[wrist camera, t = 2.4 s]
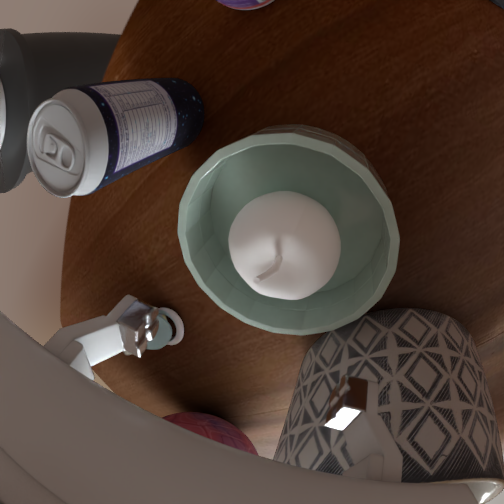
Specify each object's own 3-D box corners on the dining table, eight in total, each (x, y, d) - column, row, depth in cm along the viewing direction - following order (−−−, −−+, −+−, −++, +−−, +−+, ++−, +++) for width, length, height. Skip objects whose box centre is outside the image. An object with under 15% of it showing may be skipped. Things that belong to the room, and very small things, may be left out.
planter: (502, 296, 20) (557, 455, 6) (436, 411, 30) (436, 526, 16) (304, 280, 25) (248, 471, 12) (295, 402, 35) (261, 520, 21)
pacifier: (191, 312, 31) (143, 287, 32) (166, 355, 26) (112, 325, 26) (180, 348, 36) (138, 326, 36) (158, 387, 30) (113, 362, 31)
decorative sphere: (302, 438, 40) (269, 552, 23) (229, 452, 51) (195, 534, 34) (198, 372, 37) (129, 502, 20) (145, 400, 48) (94, 485, 31)
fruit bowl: (199, 263, 28) (174, 297, 23) (222, 104, 20) (190, 110, 16) (349, 313, 26) (346, 355, 22) (416, 162, 18) (436, 183, 14)
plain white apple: (266, 159, 20) (225, 198, 14) (359, 203, 20) (364, 264, 13) (235, 238, 24) (193, 300, 18) (316, 276, 24) (300, 350, 17)
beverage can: (161, 67, 19) (32, 77, 9) (222, 96, 19) (106, 115, 10) (137, 129, 22) (19, 174, 13) (191, 160, 23) (82, 226, 13)
